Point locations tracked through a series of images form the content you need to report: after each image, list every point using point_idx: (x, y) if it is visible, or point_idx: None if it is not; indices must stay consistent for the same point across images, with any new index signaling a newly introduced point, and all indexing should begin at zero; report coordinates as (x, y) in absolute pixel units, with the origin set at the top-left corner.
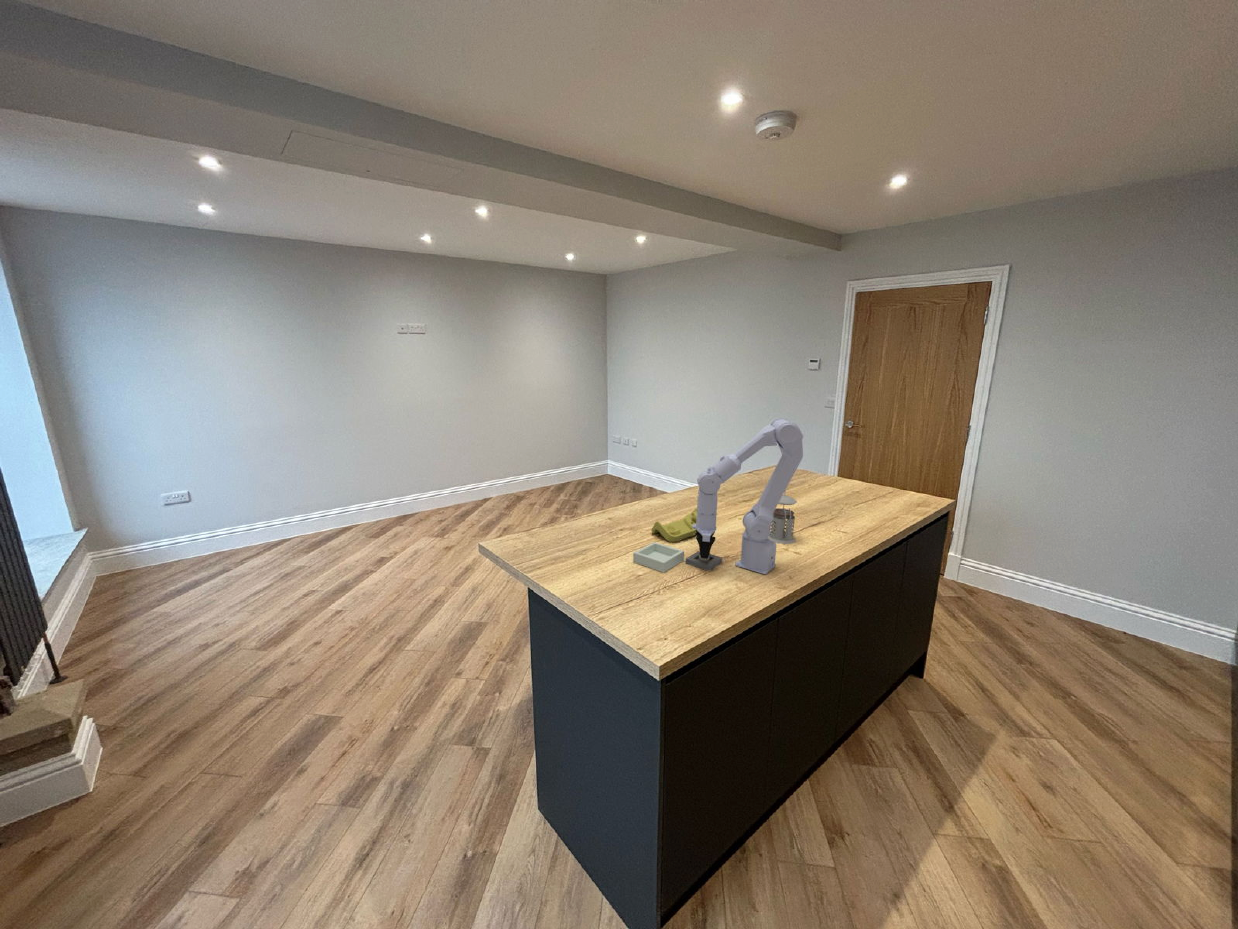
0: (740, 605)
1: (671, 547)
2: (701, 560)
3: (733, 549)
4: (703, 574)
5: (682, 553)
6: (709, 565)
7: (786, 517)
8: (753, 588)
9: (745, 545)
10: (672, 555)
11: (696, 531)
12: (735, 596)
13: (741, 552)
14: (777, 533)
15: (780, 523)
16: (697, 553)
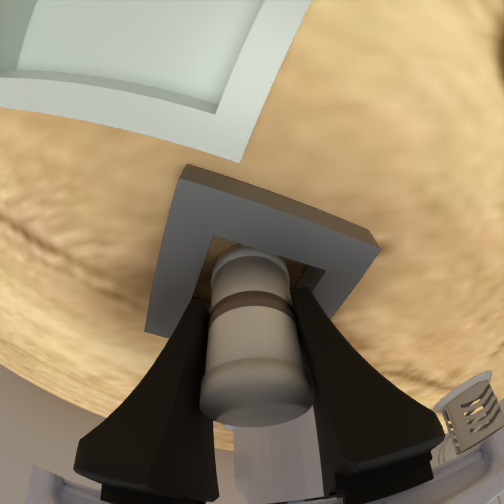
0: (26, 369)
1: (299, 7)
2: (214, 284)
3: (427, 345)
4: (100, 289)
5: (206, 147)
6: (154, 330)
7: (488, 426)
8: (121, 402)
9: (261, 480)
10: (75, 84)
11: (347, 459)
12: (47, 367)
13: (286, 435)
14: (457, 413)
15: (462, 439)
16: (324, 247)
